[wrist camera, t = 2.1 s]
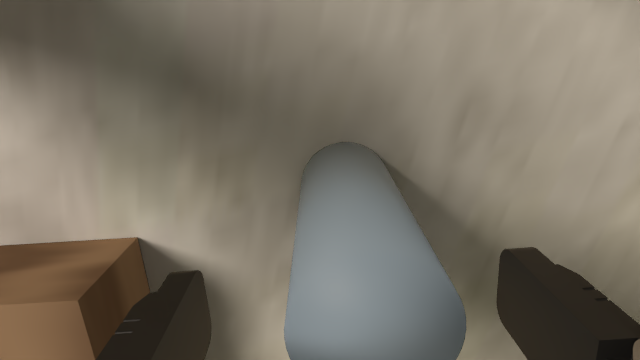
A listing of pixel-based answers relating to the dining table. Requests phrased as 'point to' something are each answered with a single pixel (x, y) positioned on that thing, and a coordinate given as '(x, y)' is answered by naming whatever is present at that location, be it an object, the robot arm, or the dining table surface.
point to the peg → (365, 269)
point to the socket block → (67, 296)
